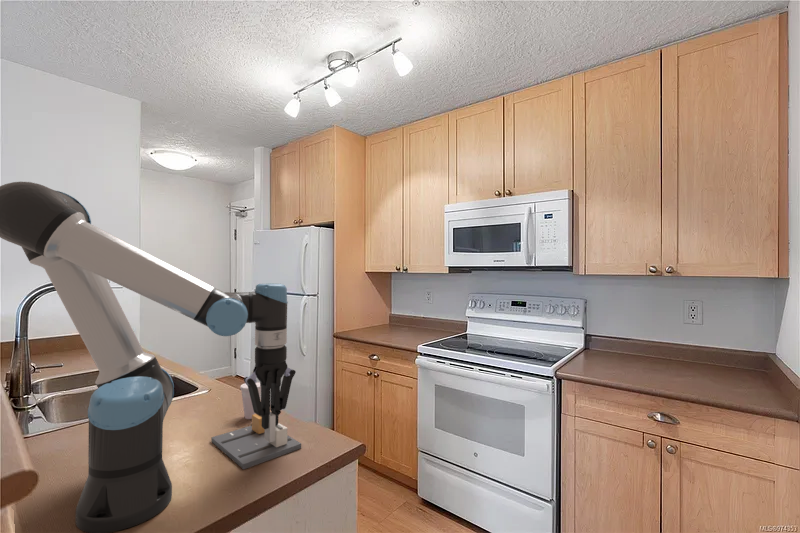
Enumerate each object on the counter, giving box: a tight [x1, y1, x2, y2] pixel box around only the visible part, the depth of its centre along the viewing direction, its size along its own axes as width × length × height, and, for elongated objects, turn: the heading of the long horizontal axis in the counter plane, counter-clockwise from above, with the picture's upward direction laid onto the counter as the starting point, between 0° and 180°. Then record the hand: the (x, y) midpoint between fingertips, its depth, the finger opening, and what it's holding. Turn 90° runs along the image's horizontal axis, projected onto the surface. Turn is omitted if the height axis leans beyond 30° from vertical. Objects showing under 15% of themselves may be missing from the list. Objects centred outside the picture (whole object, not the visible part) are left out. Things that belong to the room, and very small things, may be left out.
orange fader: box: [251, 414, 265, 434], centre depth 108 cm, size 3×4×4 cm
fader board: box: [210, 425, 302, 470], centre depth 102 cm, size 15×19×1 cm
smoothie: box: [239, 370, 261, 420], centre depth 121 cm, size 6×6×14 cm
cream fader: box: [269, 422, 288, 447], centre depth 101 cm, size 3×4×4 cm
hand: (269, 439), depth 99 cm, fingers closed
